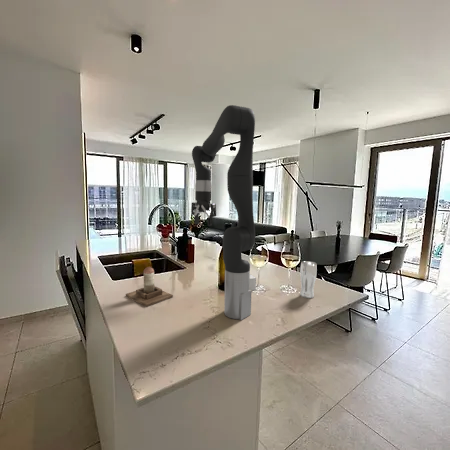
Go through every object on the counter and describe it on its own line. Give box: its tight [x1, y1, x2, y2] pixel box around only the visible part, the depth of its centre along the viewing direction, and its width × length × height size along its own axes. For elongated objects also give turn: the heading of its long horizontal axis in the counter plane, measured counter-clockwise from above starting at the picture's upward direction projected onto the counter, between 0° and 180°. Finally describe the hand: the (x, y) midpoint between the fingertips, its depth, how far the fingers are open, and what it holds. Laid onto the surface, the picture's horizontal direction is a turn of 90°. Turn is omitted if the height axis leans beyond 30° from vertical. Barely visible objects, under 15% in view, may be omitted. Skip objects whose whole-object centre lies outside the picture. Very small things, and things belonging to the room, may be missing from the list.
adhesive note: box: [249, 273, 257, 291], centre depth 124 cm, size 6×6×6 cm
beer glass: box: [299, 260, 318, 299], centre depth 115 cm, size 7×7×15 cm
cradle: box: [125, 285, 174, 308], centre depth 113 cm, size 16×13×3 cm
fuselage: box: [143, 266, 155, 294], centre depth 112 cm, size 4×4×12 cm
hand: (203, 224), depth 123 cm, fingers open, 8 cm apart
